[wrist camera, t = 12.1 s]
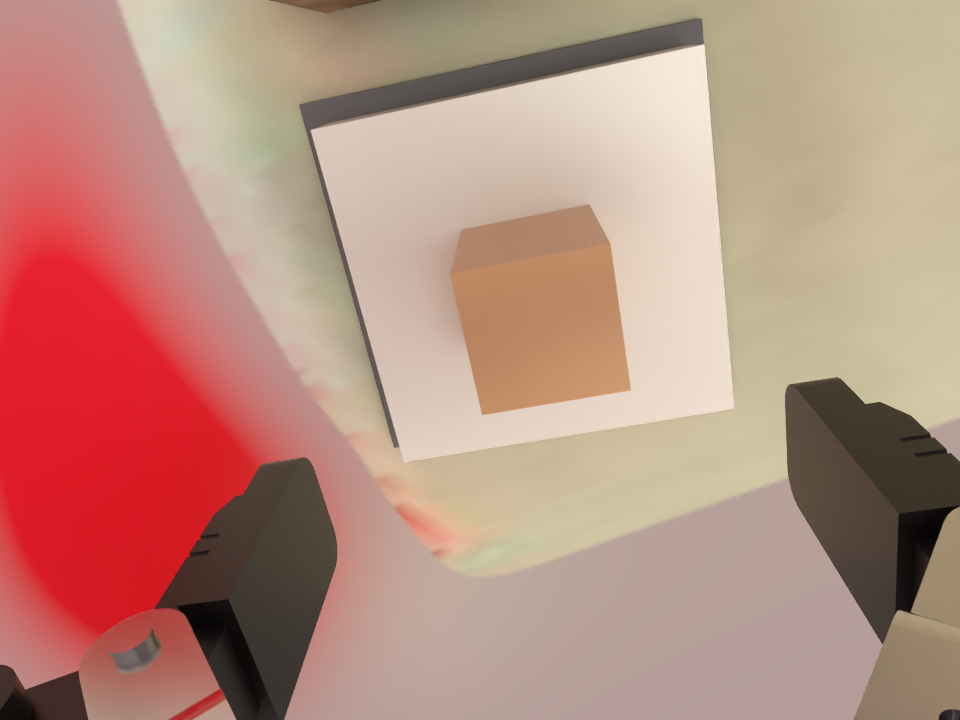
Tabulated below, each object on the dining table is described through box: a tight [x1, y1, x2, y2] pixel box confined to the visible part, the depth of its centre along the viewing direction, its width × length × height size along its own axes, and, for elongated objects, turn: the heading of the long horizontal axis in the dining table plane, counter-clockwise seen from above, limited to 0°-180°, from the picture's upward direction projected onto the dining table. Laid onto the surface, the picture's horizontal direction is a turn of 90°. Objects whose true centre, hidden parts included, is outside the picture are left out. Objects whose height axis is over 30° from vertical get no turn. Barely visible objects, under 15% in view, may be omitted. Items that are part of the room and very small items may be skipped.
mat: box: [300, 19, 704, 448], centre depth 26 cm, size 13×13×1 cm
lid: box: [311, 44, 734, 462], centre depth 22 cm, size 12×12×8 cm
